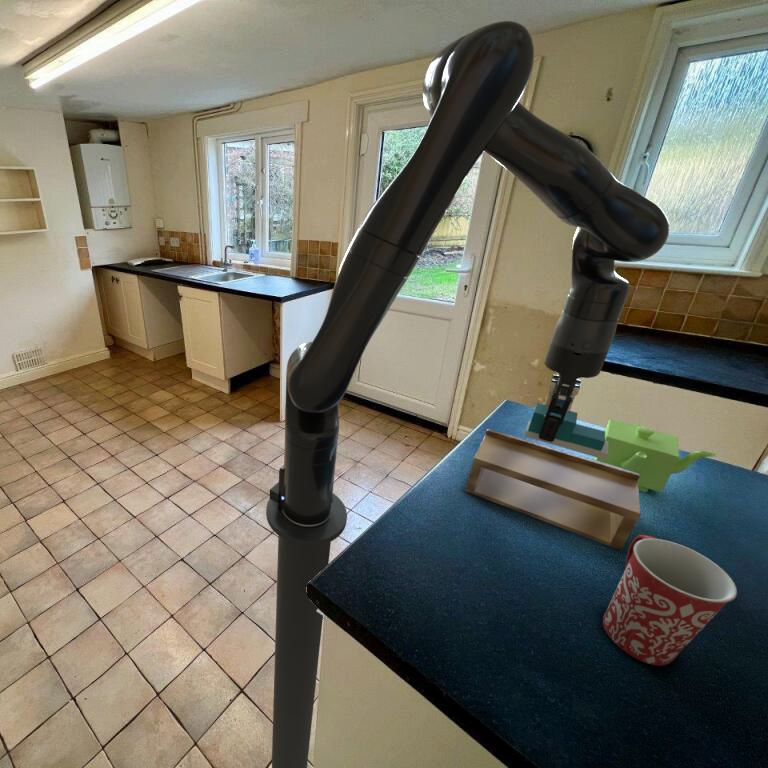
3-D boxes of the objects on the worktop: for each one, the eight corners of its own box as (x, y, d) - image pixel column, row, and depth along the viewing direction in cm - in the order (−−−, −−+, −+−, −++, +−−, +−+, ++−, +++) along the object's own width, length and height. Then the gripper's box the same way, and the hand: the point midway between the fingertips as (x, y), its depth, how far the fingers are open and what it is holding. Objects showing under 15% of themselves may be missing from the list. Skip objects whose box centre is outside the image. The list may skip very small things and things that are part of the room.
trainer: (523, 436, 74) (531, 412, 72) (527, 425, 77) (535, 402, 75) (605, 460, 67) (617, 434, 65) (605, 447, 71) (616, 422, 69)
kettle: (693, 497, 79) (721, 449, 74) (626, 504, 78) (650, 455, 73) (622, 452, 93) (642, 408, 88) (564, 456, 91) (581, 412, 86)
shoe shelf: (464, 491, 81) (475, 453, 77) (477, 464, 89) (487, 428, 85) (621, 550, 68) (643, 508, 64) (620, 512, 76) (639, 473, 72)
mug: (698, 687, 49) (757, 613, 44) (606, 657, 53) (649, 584, 47) (655, 599, 60) (698, 530, 54) (580, 578, 63) (613, 511, 57)
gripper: (556, 326, 73) (528, 410, 81) (547, 350, 63) (516, 444, 70) (609, 335, 69) (575, 423, 76) (609, 361, 59) (570, 460, 66)
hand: (547, 432), depth 73 cm, fingers closed on trainer, 4 cm apart
